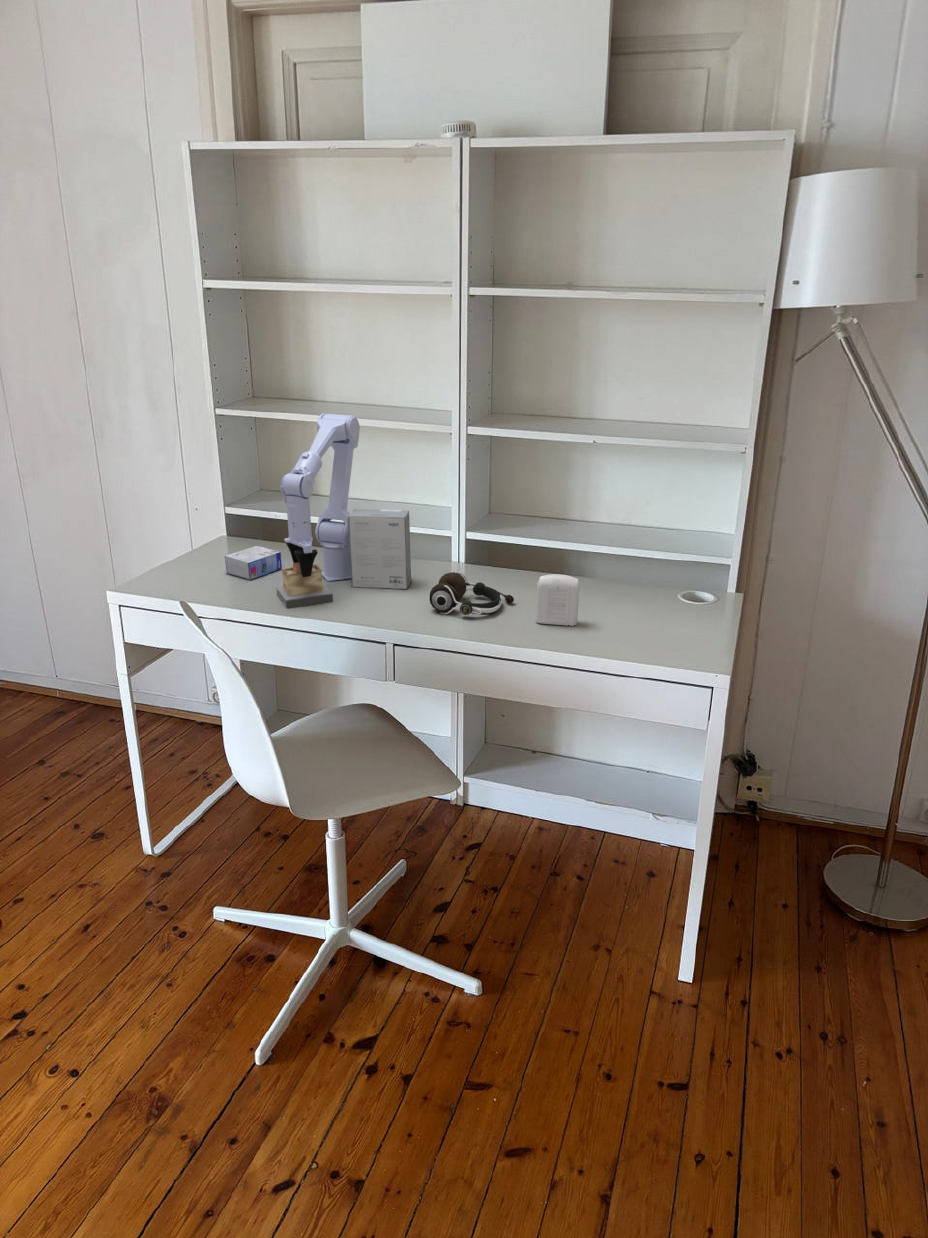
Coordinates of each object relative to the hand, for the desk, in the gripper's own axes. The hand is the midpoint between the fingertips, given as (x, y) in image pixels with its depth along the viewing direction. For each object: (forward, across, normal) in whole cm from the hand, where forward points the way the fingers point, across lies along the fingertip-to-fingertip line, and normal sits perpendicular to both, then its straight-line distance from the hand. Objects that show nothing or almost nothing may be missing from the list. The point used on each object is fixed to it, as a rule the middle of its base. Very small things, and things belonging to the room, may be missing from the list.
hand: (302, 571), depth 232 cm
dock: (+7, 0, 0) cm, 7 cm away
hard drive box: (+8, -2, +22) cm, 23 cm away
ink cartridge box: (+5, -22, -13) cm, 26 cm away
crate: (0, 0, 0) cm, 0 cm away
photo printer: (+7, +41, +52) cm, 67 cm away
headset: (+8, +23, +37) cm, 44 cm away
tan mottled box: (+5, 0, 0) cm, 5 cm away
